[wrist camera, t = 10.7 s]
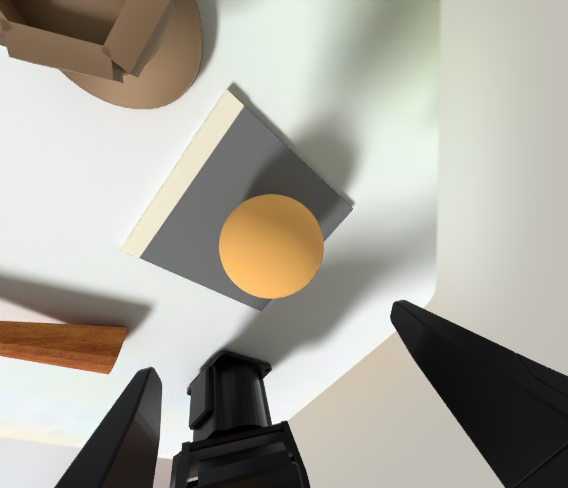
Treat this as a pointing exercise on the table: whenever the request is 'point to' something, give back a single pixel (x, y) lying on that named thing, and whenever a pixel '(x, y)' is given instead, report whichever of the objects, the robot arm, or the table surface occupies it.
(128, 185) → the table surface
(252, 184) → the mat
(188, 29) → the ball tee
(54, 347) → the kendama
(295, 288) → the rubber ball
